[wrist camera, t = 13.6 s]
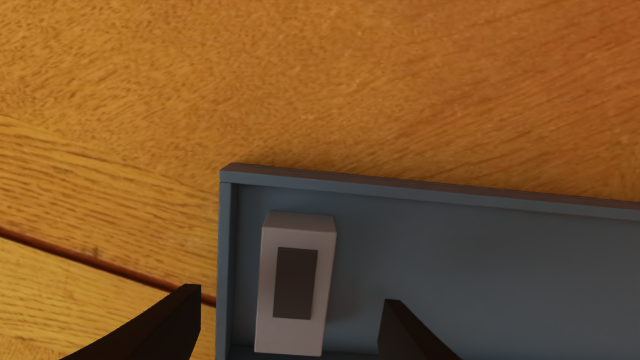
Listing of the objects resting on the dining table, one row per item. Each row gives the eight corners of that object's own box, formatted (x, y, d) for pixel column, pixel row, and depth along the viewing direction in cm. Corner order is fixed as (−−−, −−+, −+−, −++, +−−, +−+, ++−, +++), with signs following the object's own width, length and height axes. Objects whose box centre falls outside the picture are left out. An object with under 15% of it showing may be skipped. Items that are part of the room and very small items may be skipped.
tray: (677, 375, 17) (716, 404, 15) (224, 344, 16) (214, 372, 14) (756, 213, 15) (812, 226, 13) (230, 162, 13) (219, 170, 12)
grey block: (320, 325, 15) (321, 360, 13) (261, 321, 15) (253, 355, 13) (334, 215, 14) (337, 234, 12) (268, 209, 14) (261, 228, 11)
